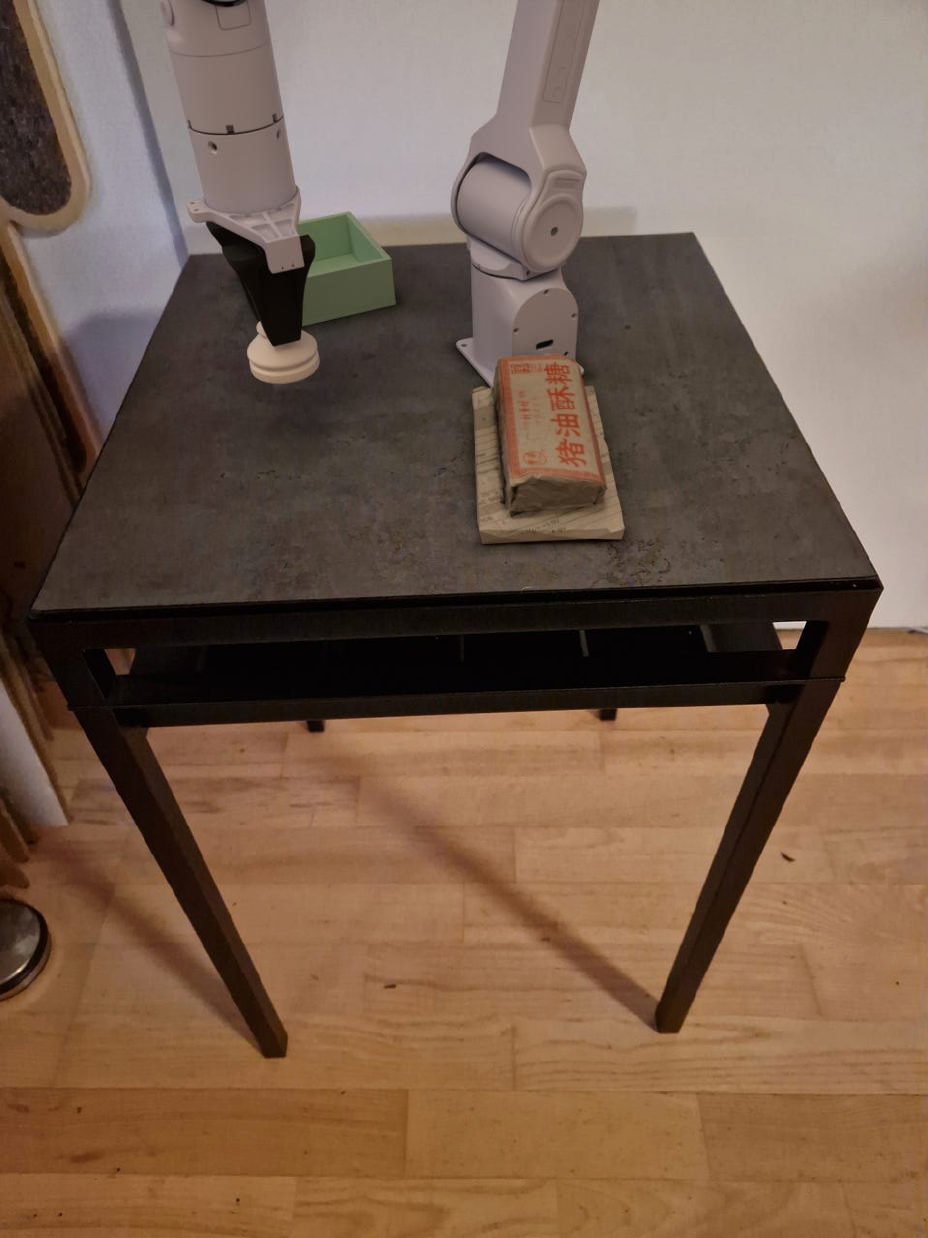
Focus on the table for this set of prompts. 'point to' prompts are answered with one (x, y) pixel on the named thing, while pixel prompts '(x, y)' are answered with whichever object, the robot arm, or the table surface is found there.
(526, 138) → the robot arm
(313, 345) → the chess pawn
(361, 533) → the table surface
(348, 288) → the open green box
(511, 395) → the packaged product
